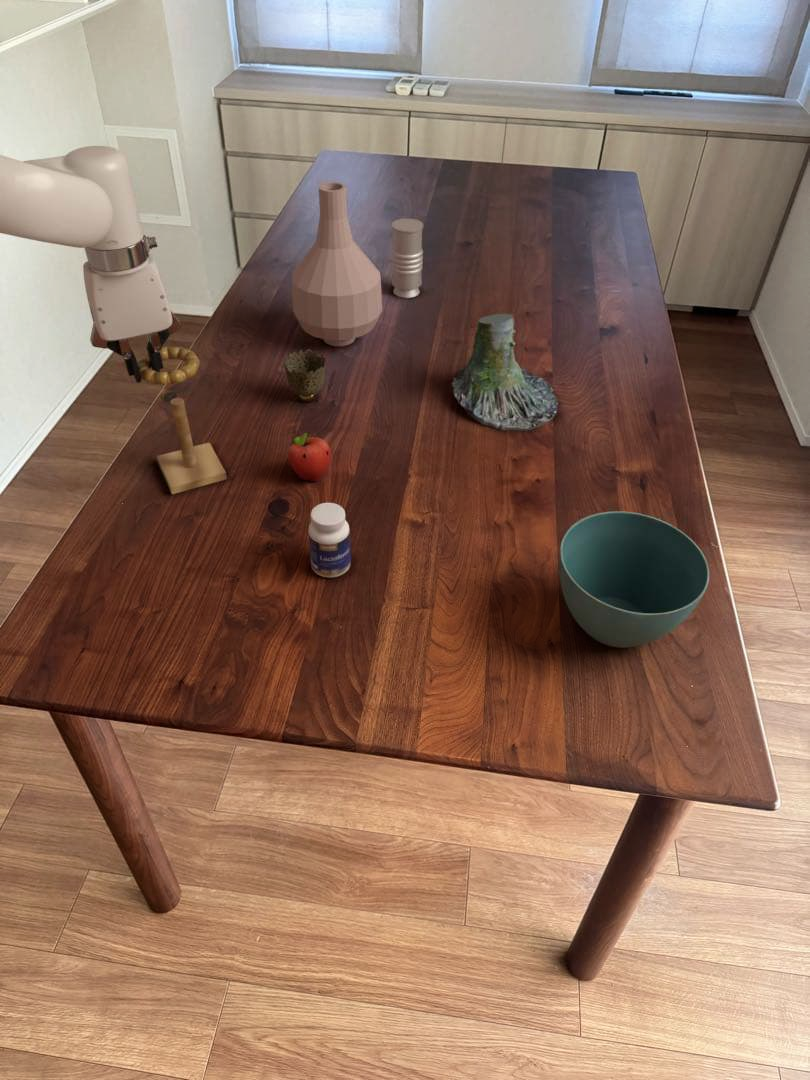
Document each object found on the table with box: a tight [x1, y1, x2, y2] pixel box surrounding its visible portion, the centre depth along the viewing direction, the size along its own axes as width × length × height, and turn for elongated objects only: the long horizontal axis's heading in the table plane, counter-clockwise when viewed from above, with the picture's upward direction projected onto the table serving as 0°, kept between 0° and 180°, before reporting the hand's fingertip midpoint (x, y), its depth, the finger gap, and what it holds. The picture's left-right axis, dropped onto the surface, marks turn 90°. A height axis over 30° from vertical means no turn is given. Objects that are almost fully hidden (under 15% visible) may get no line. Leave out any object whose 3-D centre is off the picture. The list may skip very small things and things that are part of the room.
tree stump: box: [451, 313, 559, 431], centre depth 142 cm, size 18×20×18 cm
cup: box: [282, 349, 327, 403], centre depth 143 cm, size 8×7×8 cm
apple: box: [287, 432, 332, 482], centre depth 125 cm, size 8×7×10 cm
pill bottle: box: [307, 502, 352, 579], centre depth 111 cm, size 6×6×10 cm
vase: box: [291, 181, 383, 347], centre depth 152 cm, size 18×18×30 cm
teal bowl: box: [558, 510, 710, 649], centre depth 103 cm, size 18×18×12 cm
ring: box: [137, 346, 201, 386], centre depth 116 cm, size 9×9×2 cm
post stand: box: [155, 397, 228, 495], centre depth 125 cm, size 9×9×14 cm
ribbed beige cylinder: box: [390, 218, 424, 299], centre depth 173 cm, size 7×7×15 cm
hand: (146, 374), depth 115 cm, fingers closed on ring, 2 cm apart
